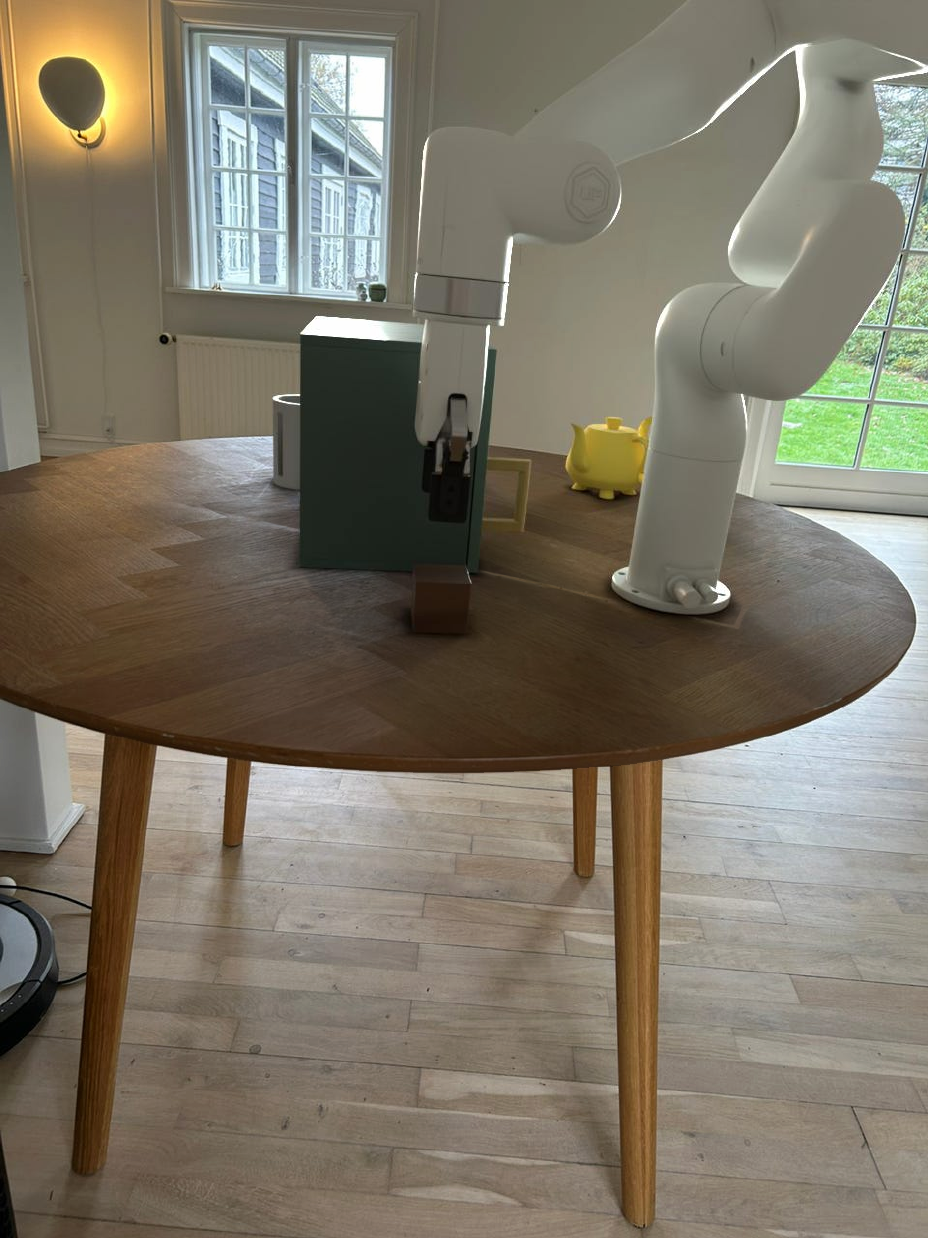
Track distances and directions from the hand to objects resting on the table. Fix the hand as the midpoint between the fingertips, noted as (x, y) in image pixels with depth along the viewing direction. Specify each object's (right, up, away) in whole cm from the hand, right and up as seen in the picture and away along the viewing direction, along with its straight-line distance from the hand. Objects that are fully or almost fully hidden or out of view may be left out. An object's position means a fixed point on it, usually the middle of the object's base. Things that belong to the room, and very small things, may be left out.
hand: (442, 505), depth 76 cm
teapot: (+25, +10, +59) cm, 64 cm away
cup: (-21, +10, +49) cm, 55 cm away
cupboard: (-8, 0, +29) cm, 30 cm away
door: (+4, 0, +30) cm, 30 cm away
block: (-1, -10, +5) cm, 11 cm away
